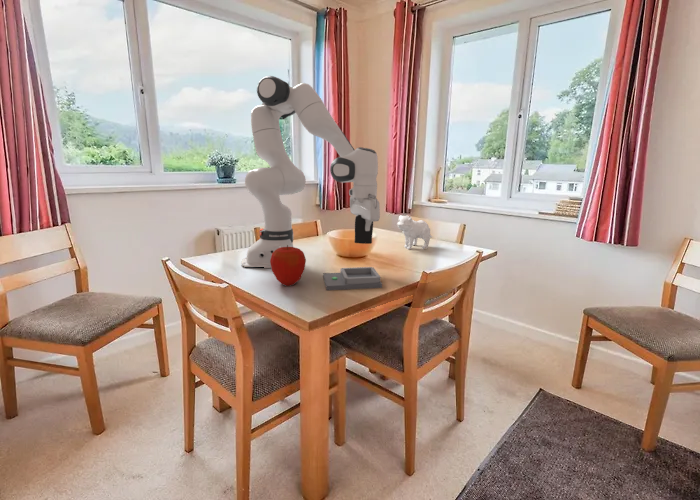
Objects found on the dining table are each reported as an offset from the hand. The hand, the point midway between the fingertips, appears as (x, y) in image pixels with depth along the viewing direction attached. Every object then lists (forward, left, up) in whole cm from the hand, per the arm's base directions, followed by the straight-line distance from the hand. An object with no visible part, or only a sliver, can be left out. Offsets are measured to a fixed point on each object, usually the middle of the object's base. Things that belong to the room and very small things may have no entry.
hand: (363, 229), depth 139 cm
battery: (0, +1, -6) cm, 6 cm away
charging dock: (-7, -13, -17) cm, 22 cm away
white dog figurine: (+33, +35, -17) cm, 51 cm away
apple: (-29, -12, -17) cm, 35 cm away
